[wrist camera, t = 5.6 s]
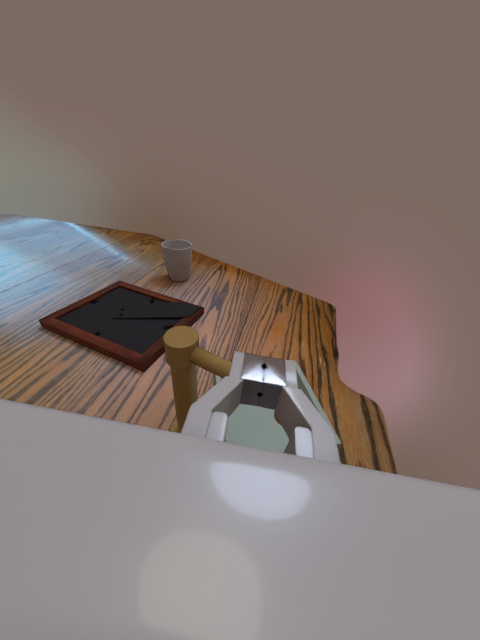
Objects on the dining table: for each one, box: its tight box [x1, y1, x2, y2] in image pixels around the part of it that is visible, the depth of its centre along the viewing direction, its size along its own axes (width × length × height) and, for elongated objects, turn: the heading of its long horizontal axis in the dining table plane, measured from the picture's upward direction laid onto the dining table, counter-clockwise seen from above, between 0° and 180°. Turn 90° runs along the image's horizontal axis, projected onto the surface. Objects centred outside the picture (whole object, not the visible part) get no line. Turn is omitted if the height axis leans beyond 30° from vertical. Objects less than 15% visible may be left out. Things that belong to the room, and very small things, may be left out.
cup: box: [161, 240, 192, 282], centre depth 65 cm, size 8×8×10 cm
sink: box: [213, 361, 341, 453], centre depth 32 cm, size 14×14×5 cm
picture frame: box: [39, 281, 204, 372], centre depth 49 cm, size 20×2×25 cm
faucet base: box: [170, 365, 197, 433], centre depth 27 cm, size 5×5×14 cm
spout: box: [163, 326, 281, 425], centre depth 21 cm, size 14×3×4 cm, turn 62°
